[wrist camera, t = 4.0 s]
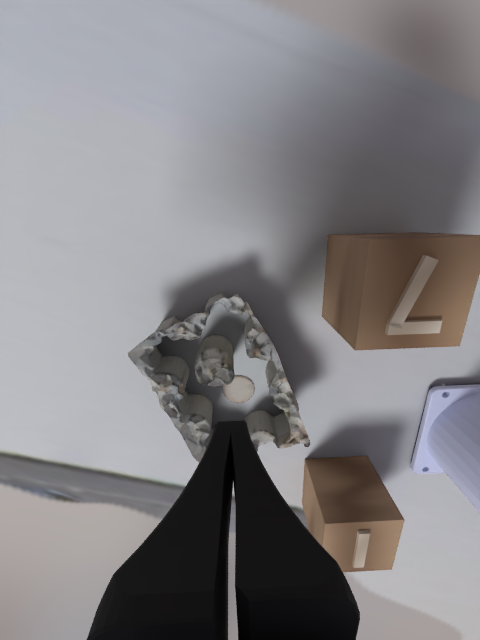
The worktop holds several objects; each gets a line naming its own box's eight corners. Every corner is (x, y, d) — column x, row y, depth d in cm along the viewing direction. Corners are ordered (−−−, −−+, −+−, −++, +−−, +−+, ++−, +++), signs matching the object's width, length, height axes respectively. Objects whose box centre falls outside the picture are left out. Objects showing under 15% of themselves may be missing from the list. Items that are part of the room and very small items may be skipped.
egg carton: (301, 407, 20) (318, 451, 16) (210, 440, 21) (205, 490, 17) (247, 277, 16) (252, 294, 13) (140, 323, 17) (114, 352, 13)
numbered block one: (366, 454, 21) (406, 523, 17) (359, 499, 23) (393, 572, 18) (304, 458, 21) (326, 527, 16) (302, 502, 23) (320, 577, 18)
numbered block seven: (412, 232, 16) (494, 235, 11) (397, 313, 17) (463, 348, 12) (327, 235, 16) (371, 239, 11) (321, 315, 17) (357, 352, 12)
